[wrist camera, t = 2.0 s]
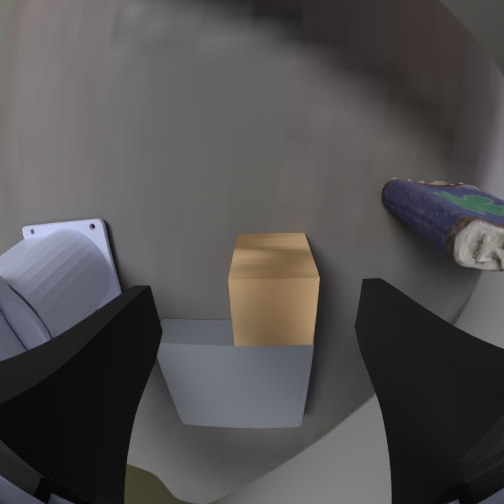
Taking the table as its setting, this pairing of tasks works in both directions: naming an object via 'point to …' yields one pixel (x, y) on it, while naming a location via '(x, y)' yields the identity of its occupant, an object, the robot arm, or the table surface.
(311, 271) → the oak block
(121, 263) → the table surface
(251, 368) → the base block
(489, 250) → the flask
